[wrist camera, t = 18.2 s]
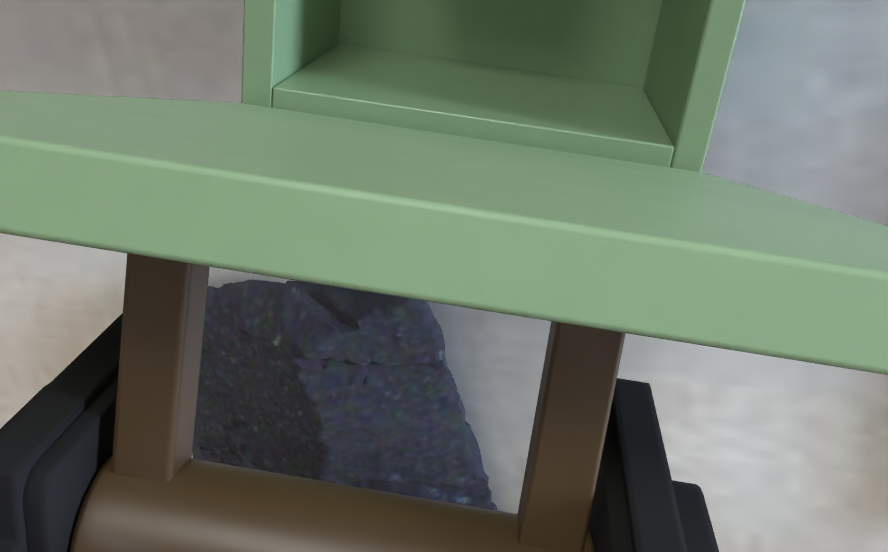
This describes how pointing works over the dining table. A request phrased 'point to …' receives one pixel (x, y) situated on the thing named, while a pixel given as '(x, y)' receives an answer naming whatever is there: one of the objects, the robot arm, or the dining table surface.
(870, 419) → the dining table surface
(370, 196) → the lid
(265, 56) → the chest
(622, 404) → the robot arm
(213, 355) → the dark grey lumpy slab
